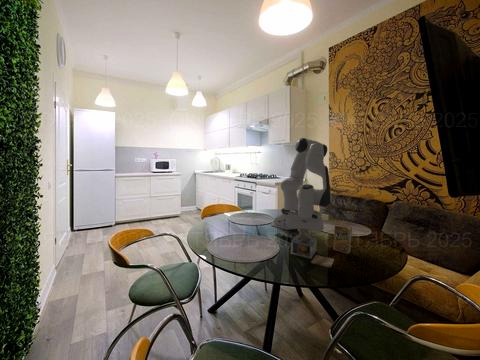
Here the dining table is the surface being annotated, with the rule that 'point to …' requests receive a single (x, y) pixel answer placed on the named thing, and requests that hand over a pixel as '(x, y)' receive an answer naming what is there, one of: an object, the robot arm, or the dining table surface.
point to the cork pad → (322, 261)
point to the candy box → (342, 238)
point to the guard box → (297, 241)
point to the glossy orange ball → (303, 248)
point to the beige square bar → (304, 233)
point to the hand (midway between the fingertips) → (304, 235)
